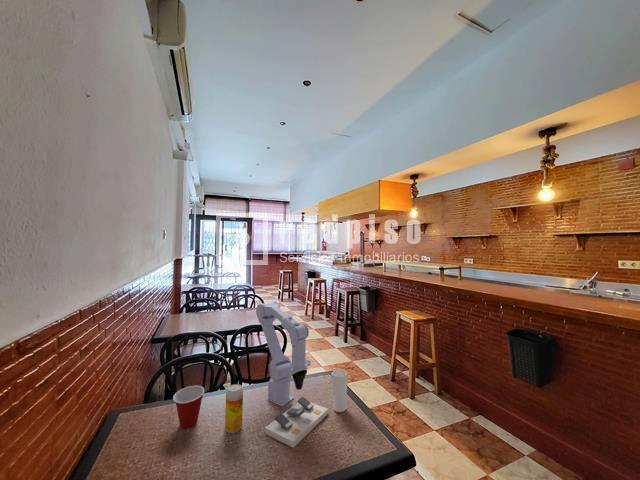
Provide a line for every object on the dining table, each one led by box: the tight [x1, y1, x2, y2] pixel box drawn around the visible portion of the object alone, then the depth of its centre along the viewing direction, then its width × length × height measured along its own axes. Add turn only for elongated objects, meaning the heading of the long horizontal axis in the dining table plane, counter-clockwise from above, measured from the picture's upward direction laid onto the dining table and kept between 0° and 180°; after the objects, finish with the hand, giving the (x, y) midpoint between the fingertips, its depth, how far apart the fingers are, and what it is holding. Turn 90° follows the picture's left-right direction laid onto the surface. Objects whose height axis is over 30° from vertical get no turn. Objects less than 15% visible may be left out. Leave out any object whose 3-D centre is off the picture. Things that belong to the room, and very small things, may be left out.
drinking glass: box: [331, 369, 348, 413], centre depth 115 cm, size 7×7×15 cm
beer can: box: [224, 383, 244, 434], centre depth 101 cm, size 6×6×15 cm
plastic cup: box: [172, 385, 205, 430], centre depth 103 cm, size 11×11×12 cm
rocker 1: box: [274, 412, 293, 431], centre depth 100 cm, size 6×3×1 cm, turn 57°
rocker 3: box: [297, 396, 314, 411], centre depth 112 cm, size 6×3×1 cm, turn 57°
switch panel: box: [264, 401, 329, 448], centre depth 105 cm, size 13×23×2 cm, turn 148°
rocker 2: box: [286, 407, 304, 416], centre depth 106 cm, size 6×3×1 cm, turn 58°
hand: (298, 388), depth 112 cm, fingers closed
